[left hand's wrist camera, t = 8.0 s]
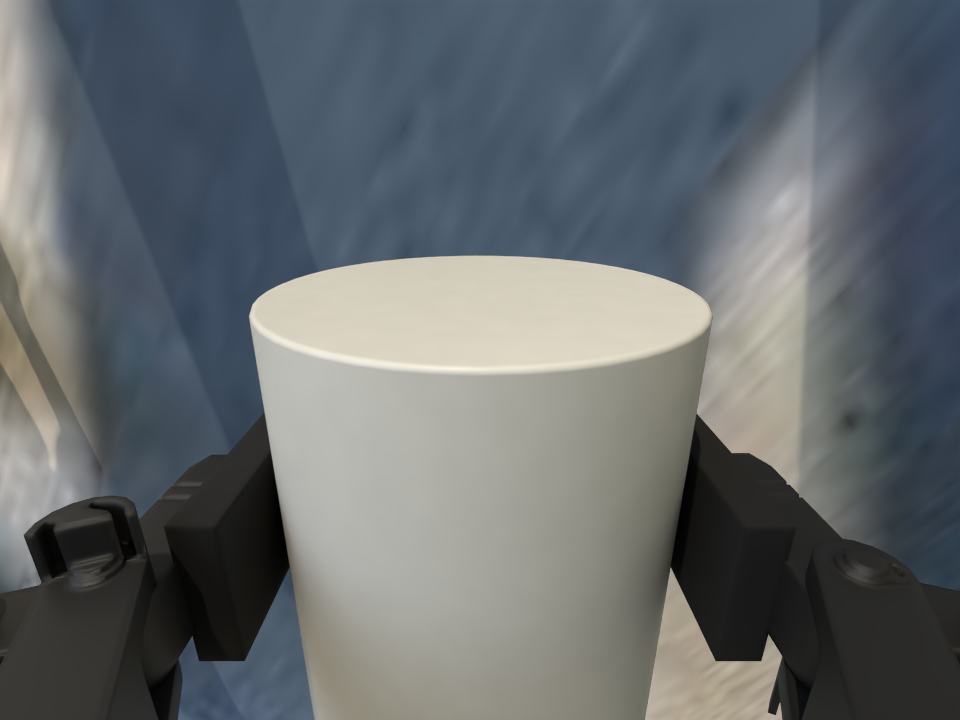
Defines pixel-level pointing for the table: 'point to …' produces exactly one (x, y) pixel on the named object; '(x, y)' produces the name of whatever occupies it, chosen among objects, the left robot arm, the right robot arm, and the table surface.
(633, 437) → the rod
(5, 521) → the table surface
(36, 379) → the table surface
